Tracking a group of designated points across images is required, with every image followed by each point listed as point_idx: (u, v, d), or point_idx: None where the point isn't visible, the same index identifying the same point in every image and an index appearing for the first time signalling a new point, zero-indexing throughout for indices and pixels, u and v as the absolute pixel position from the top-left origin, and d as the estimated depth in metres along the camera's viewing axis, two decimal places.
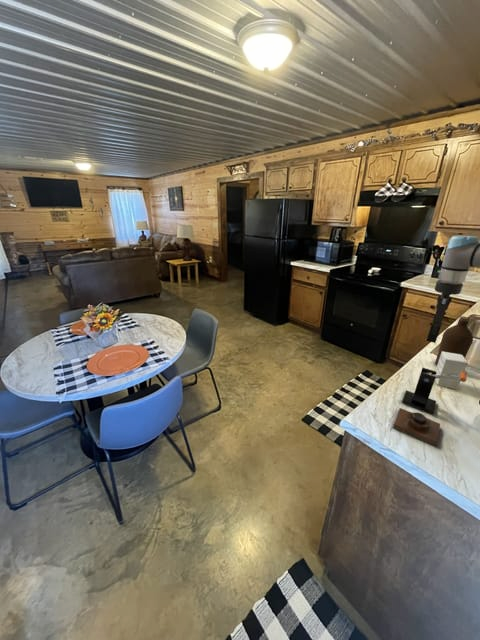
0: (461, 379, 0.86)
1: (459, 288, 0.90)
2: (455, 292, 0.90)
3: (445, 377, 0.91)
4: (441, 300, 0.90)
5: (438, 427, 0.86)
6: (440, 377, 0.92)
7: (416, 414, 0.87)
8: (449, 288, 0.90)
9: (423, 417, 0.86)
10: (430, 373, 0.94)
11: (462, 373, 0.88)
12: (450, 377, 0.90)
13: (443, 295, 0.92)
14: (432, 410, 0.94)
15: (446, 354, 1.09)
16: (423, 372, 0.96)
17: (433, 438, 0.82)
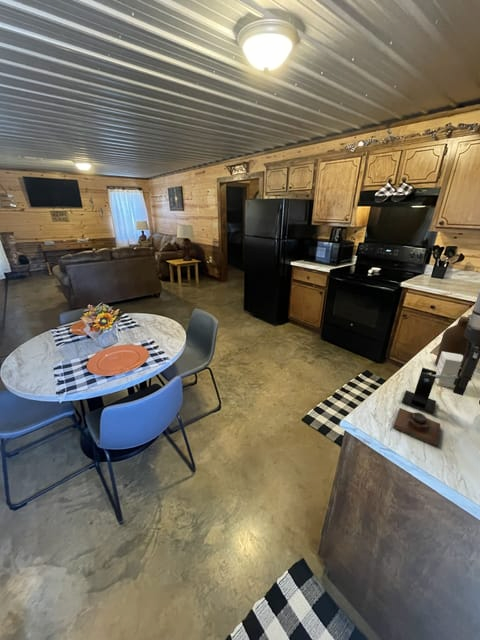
0: None
1: None
2: None
3: (445, 377, 0.91)
4: (471, 355, 0.80)
5: (438, 427, 0.86)
6: (440, 377, 0.92)
7: (416, 414, 0.87)
8: None
9: (423, 417, 0.86)
10: (430, 373, 0.94)
11: None
12: (450, 377, 0.90)
13: (475, 344, 0.80)
14: (432, 410, 0.94)
15: (446, 354, 1.09)
16: (423, 372, 0.96)
17: (433, 438, 0.82)
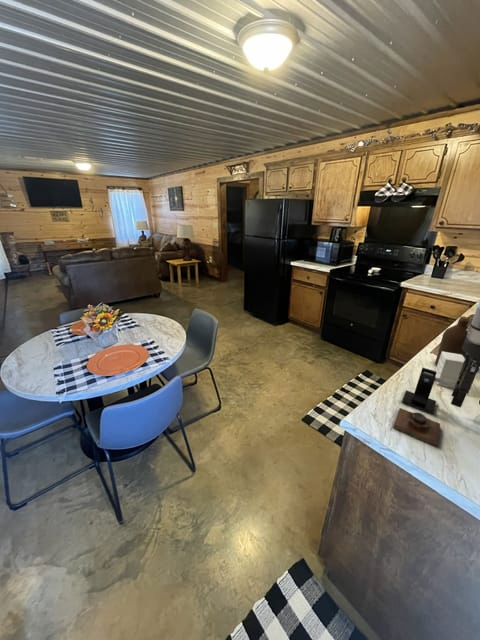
0: None
1: None
2: None
3: (445, 383, 0.91)
4: (469, 369, 0.81)
5: (438, 427, 0.86)
6: (440, 381, 0.92)
7: (416, 414, 0.87)
8: None
9: (423, 417, 0.86)
10: (432, 374, 0.94)
11: None
12: (449, 384, 0.91)
13: (473, 357, 0.82)
14: (432, 410, 0.94)
15: (446, 354, 1.09)
16: None
17: (433, 438, 0.82)
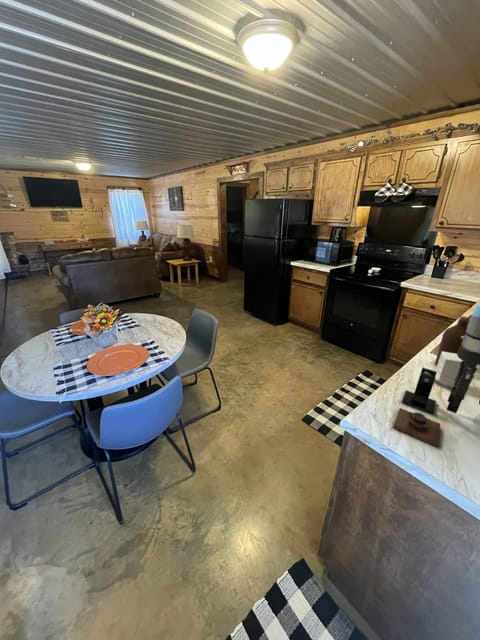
0: None
1: None
2: None
3: (443, 386, 0.92)
4: (464, 376, 0.82)
5: (438, 427, 0.86)
6: (438, 383, 0.93)
7: (416, 414, 0.87)
8: (475, 358, 0.81)
9: (423, 417, 0.86)
10: None
11: None
12: (447, 388, 0.91)
13: (468, 365, 0.83)
14: (432, 410, 0.94)
15: (446, 354, 1.09)
16: (426, 371, 0.95)
17: (433, 438, 0.82)
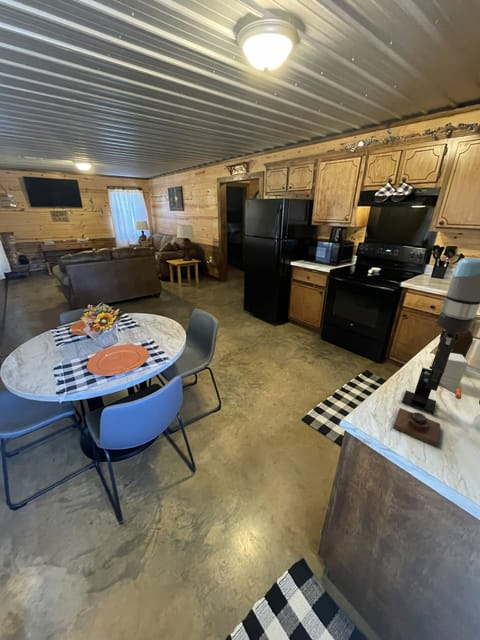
0: (457, 396, 0.89)
1: (468, 325, 0.70)
2: (463, 330, 0.71)
3: (443, 386, 0.92)
4: (445, 340, 0.71)
5: (438, 427, 0.86)
6: None
7: (416, 414, 0.87)
8: (455, 324, 0.71)
9: (423, 417, 0.86)
10: None
11: (459, 390, 0.90)
12: (447, 388, 0.91)
13: (447, 332, 0.72)
14: (432, 410, 0.94)
15: None
16: (426, 371, 0.95)
17: (433, 438, 0.82)
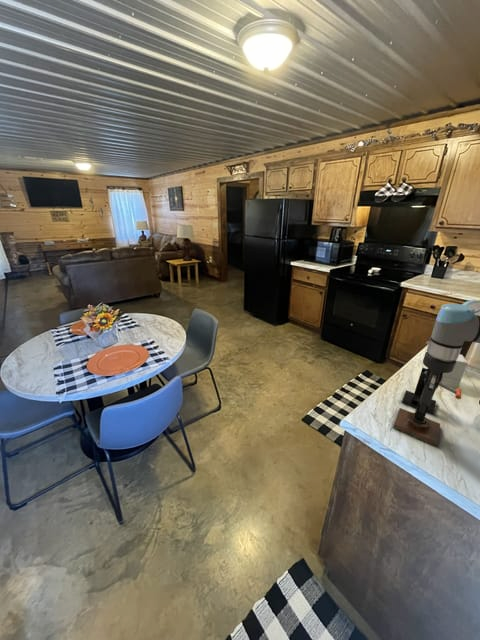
0: (457, 396, 0.89)
1: (451, 366, 0.75)
2: (447, 371, 0.75)
3: (443, 386, 0.92)
4: (427, 386, 0.76)
5: (438, 427, 0.86)
6: None
7: None
8: (439, 365, 0.75)
9: None
10: None
11: (459, 390, 0.90)
12: (447, 388, 0.91)
13: (432, 372, 0.77)
14: (432, 410, 0.94)
15: None
16: (426, 371, 0.95)
17: (433, 438, 0.82)
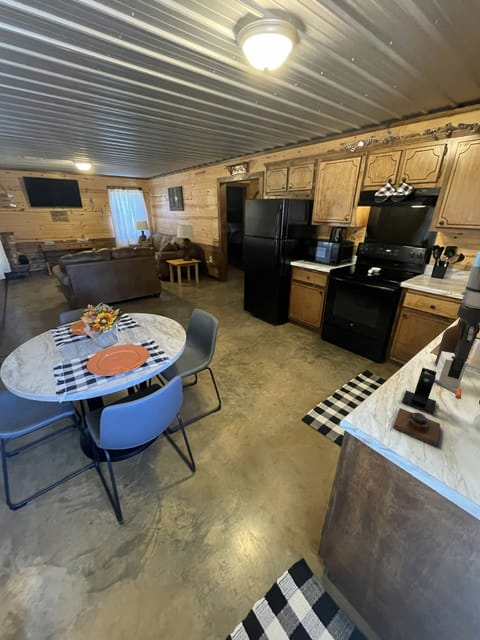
0: (457, 396, 0.89)
1: None
2: None
3: (443, 386, 0.92)
4: (465, 338, 0.72)
5: (438, 427, 0.86)
6: (438, 383, 0.93)
7: (416, 414, 0.87)
8: (478, 314, 0.71)
9: (423, 417, 0.86)
10: None
11: (459, 390, 0.90)
12: (447, 388, 0.91)
13: (470, 323, 0.73)
14: (432, 410, 0.94)
15: (446, 354, 1.09)
16: (426, 371, 0.95)
17: (433, 438, 0.82)
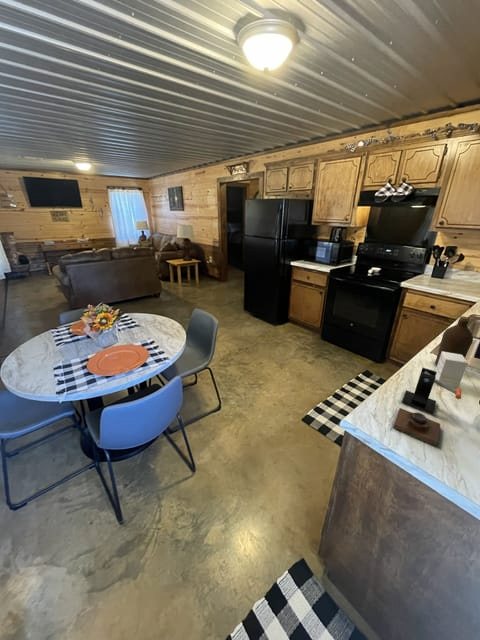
0: (457, 396, 0.89)
1: None
2: None
3: (443, 386, 0.92)
4: None
5: (438, 427, 0.86)
6: (438, 383, 0.93)
7: (416, 414, 0.87)
8: None
9: (423, 417, 0.86)
10: None
11: (459, 390, 0.90)
12: (447, 388, 0.91)
13: None
14: (432, 410, 0.94)
15: (446, 354, 1.09)
16: (426, 371, 0.95)
17: (433, 438, 0.82)
